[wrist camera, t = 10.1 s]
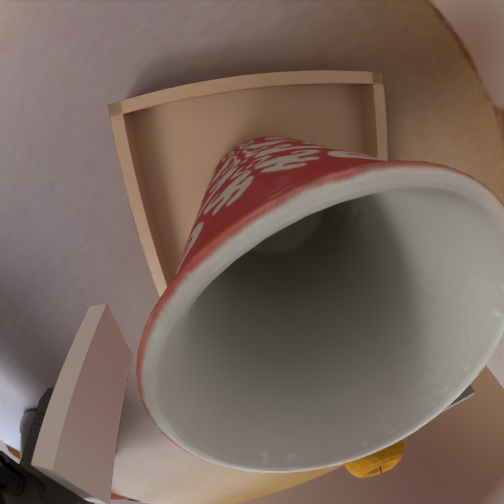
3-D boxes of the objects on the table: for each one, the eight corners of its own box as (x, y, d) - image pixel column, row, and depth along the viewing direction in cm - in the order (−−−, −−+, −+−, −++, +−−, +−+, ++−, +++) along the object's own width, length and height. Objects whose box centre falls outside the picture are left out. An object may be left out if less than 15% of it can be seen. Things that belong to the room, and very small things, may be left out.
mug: (235, 90, 14) (304, 13, 2) (367, 166, 17) (550, 284, 5) (149, 276, 19) (98, 477, 7) (269, 320, 21) (311, 499, 10)
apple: (399, 408, 34) (422, 455, 26) (356, 438, 37) (372, 484, 29) (369, 399, 31) (394, 457, 23) (320, 433, 33) (336, 487, 26)
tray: (182, 328, 22) (180, 351, 20) (122, 104, 14) (107, 105, 12) (362, 295, 23) (375, 314, 20) (362, 75, 15) (382, 72, 13)
